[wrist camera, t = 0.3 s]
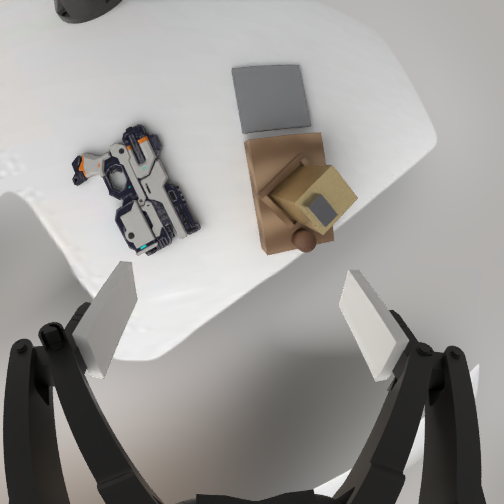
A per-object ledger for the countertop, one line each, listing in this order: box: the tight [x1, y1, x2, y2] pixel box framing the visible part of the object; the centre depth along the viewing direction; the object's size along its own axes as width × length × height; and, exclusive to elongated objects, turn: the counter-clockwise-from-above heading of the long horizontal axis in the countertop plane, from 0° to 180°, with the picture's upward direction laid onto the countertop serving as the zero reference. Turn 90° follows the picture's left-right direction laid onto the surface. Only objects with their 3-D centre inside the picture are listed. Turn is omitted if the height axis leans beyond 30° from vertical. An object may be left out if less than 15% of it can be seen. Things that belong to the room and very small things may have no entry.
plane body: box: [244, 132, 334, 255], centre depth 40 cm, size 17×11×6 cm
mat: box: [231, 65, 311, 134], centre depth 38 cm, size 11×11×1 cm
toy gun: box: [72, 125, 201, 256], centre depth 38 cm, size 3×20×15 cm
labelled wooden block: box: [269, 165, 358, 235], centre depth 34 cm, size 5×6×12 cm
